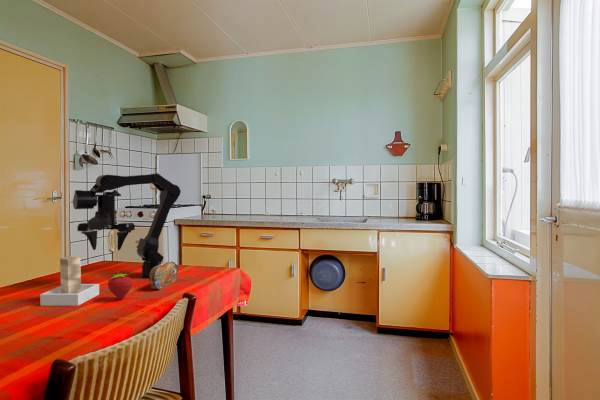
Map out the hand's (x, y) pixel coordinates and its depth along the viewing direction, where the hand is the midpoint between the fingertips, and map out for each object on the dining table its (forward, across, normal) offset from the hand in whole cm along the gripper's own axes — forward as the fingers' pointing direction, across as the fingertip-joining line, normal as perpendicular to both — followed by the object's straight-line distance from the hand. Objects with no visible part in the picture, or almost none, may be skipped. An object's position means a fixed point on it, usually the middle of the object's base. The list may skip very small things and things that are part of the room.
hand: (106, 249), depth 132 cm
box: (+13, -2, -18) cm, 22 cm away
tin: (+13, +22, -2) cm, 26 cm away
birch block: (+12, -2, -18) cm, 22 cm away
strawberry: (+13, +14, -18) cm, 26 cm away
